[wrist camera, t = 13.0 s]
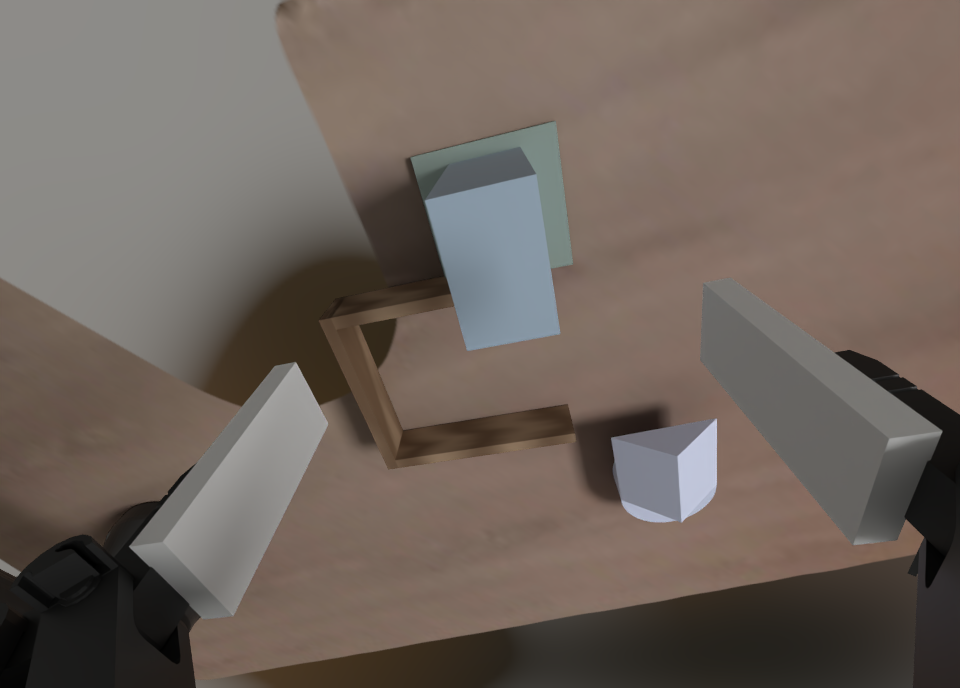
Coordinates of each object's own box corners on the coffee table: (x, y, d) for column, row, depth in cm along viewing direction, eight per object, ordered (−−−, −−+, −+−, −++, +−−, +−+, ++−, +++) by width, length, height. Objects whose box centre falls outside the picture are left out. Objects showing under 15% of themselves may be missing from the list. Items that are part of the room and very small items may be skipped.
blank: (475, 271, 33) (467, 350, 22) (448, 164, 29) (424, 200, 19) (538, 258, 32) (560, 334, 22) (520, 146, 28) (536, 174, 18)
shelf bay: (396, 439, 43) (388, 469, 39) (335, 298, 35) (318, 320, 31) (568, 412, 40) (576, 441, 37) (544, 255, 33) (550, 273, 29)
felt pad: (448, 287, 34) (448, 289, 34) (411, 156, 29) (410, 157, 29) (571, 261, 33) (572, 263, 32) (554, 120, 28) (555, 121, 27)
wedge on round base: (602, 413, 40) (617, 501, 47) (621, 466, 35) (635, 558, 41) (700, 394, 39) (702, 487, 45) (736, 446, 33) (733, 545, 39)
